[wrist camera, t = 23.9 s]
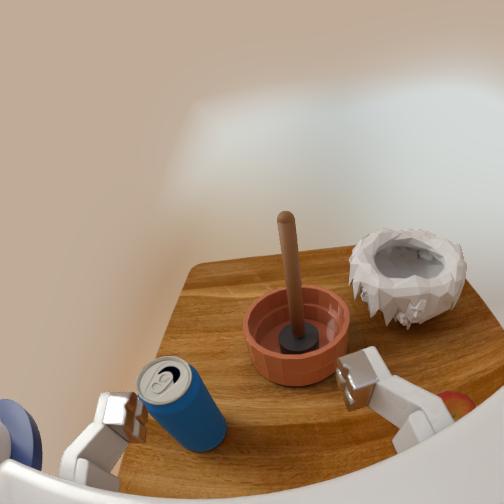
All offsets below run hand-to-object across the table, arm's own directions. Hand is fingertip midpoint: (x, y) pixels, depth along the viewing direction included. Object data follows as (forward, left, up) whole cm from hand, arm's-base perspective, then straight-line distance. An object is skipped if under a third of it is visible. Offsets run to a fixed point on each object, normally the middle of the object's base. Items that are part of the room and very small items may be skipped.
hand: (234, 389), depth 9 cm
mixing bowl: (+12, +17, -22) cm, 30 cm away
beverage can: (-5, +11, -22) cm, 25 cm away
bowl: (+32, +14, -22) cm, 41 cm away
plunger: (+12, +17, -21) cm, 30 cm away
